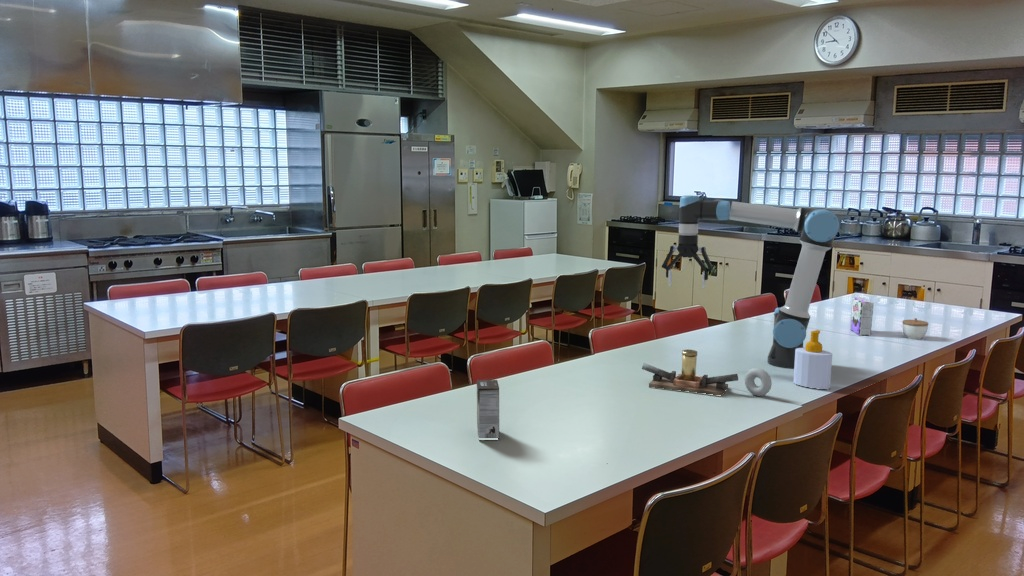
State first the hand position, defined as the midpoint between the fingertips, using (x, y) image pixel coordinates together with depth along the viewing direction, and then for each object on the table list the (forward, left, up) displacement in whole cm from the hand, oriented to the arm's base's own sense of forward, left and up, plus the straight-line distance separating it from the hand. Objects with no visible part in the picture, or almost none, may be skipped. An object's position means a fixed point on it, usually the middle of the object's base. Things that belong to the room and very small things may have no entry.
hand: (686, 286), depth 302 cm
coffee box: (+32, +110, -32) cm, 119 cm away
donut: (-34, +33, -32) cm, 57 cm away
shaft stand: (-10, +34, -32) cm, 48 cm away
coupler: (-10, +34, -30) cm, 46 cm away
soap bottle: (-50, +12, -32) cm, 61 cm away
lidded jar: (-86, -94, -32) cm, 131 cm away
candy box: (-63, -95, -32) cm, 118 cm away
